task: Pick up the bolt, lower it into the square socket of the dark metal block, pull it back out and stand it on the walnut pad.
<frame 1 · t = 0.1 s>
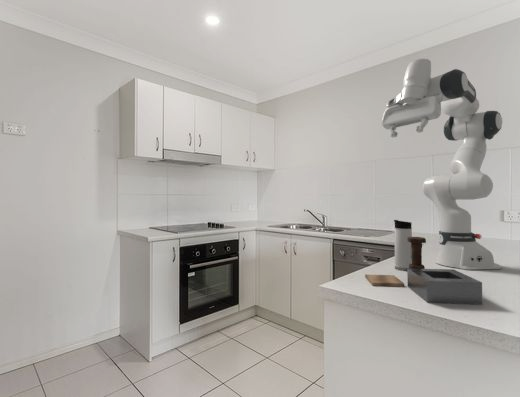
hand: (406, 134, 102), 52 cm above the counter, tool tilted 20°, fingers open, 8 cm apart
socket block: (441, 294, 85), on the counter
travel mug: (402, 269, 115), on the counter
walnut pad: (383, 281, 98), on the counter
bolt: (416, 280, 100), on the counter
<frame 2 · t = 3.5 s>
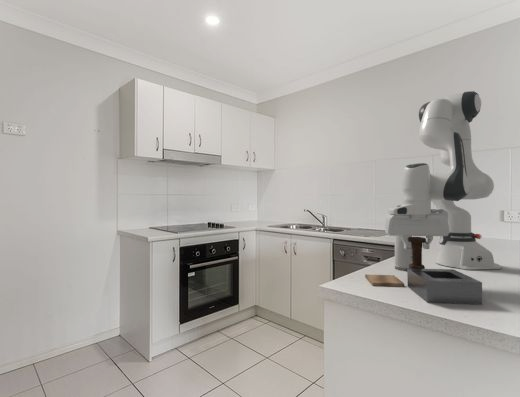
hand: (416, 248, 100), 11 cm above the counter, tool pointing down, fingers closed on bolt, 5 cm apart
bolt: (416, 280, 100), on the counter, touching gripper
everything else where it was.
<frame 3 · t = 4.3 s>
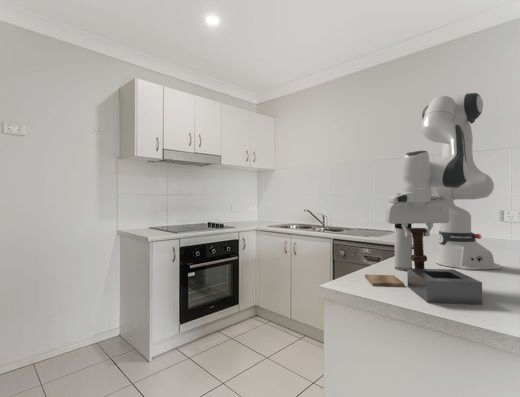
hand: (417, 236, 100), 15 cm above the counter, tool pointing down, fingers closed on bolt, 5 cm apart
bolt: (419, 271, 99), point 3 cm above the counter, touching gripper
everything else where it was.
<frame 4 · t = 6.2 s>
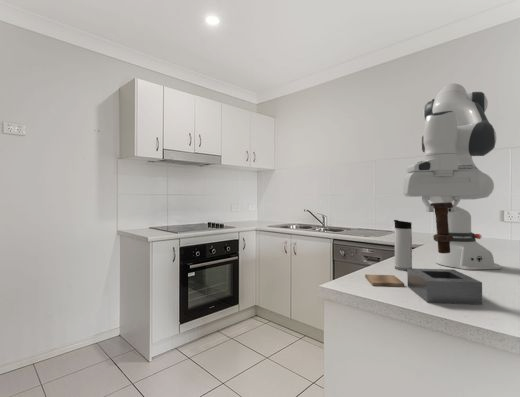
hand: (440, 211, 85), 25 cm above the counter, tool pointing down, fingers closed on bolt, 5 cm apart
bolt: (444, 253, 84), point 12 cm above the counter, touching gripper
everything else where it was.
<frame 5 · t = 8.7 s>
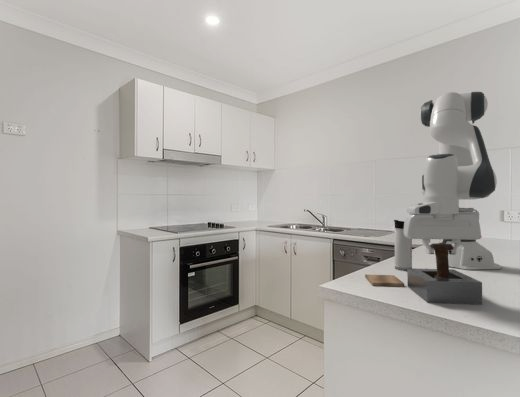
hand: (441, 254, 85), 12 cm above the counter, tool pointing down, fingers closed on bolt, 5 cm apart
bolt: (444, 295, 84), resting in socket block, touching gripper
everything else where it was.
when the fingers open (13 cm above the counter, at t = 14.9 s): bolt stays where it is, resting on walnut pad.
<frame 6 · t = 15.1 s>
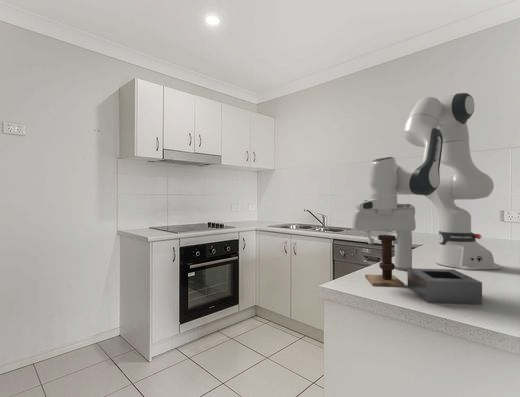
hand: (383, 243, 98), 13 cm above the counter, tool pointing down, fingers open, 7 cm apart
bolt: (387, 279, 98), point 1 cm above the counter, touching gripper, walnut pad
everything else where it was.
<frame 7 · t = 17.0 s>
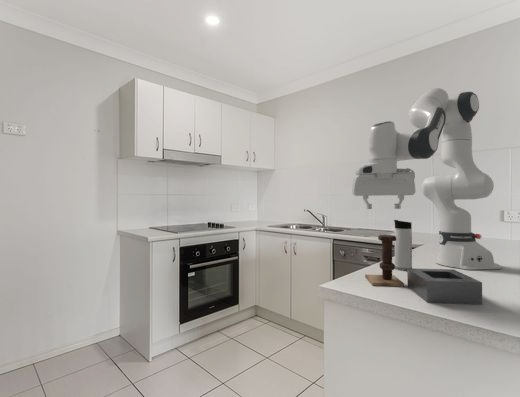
hand: (383, 208, 98), 25 cm above the counter, tool pointing down, fingers open, 8 cm apart
bolt: (387, 279, 98), point 1 cm above the counter, touching walnut pad
everything else where it was.
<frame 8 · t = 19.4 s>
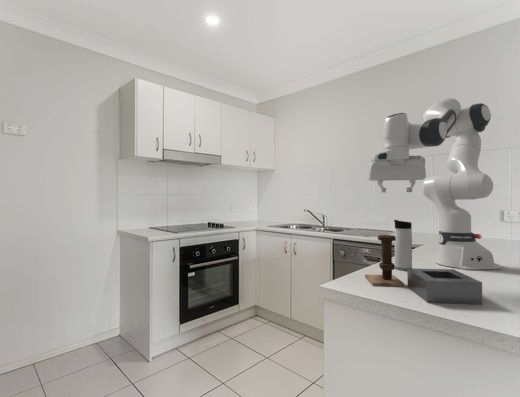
hand: (396, 192, 108), 31 cm above the counter, tool pointing down, fingers open, 8 cm apart
nothing on the counter moved.
at the end: bolt inside the target area on the walnut pad (1.1 cm from its centre), point 0.8 cm above the walnut pad's base; bolt tilted 0°; the gripper is holding nothing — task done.
